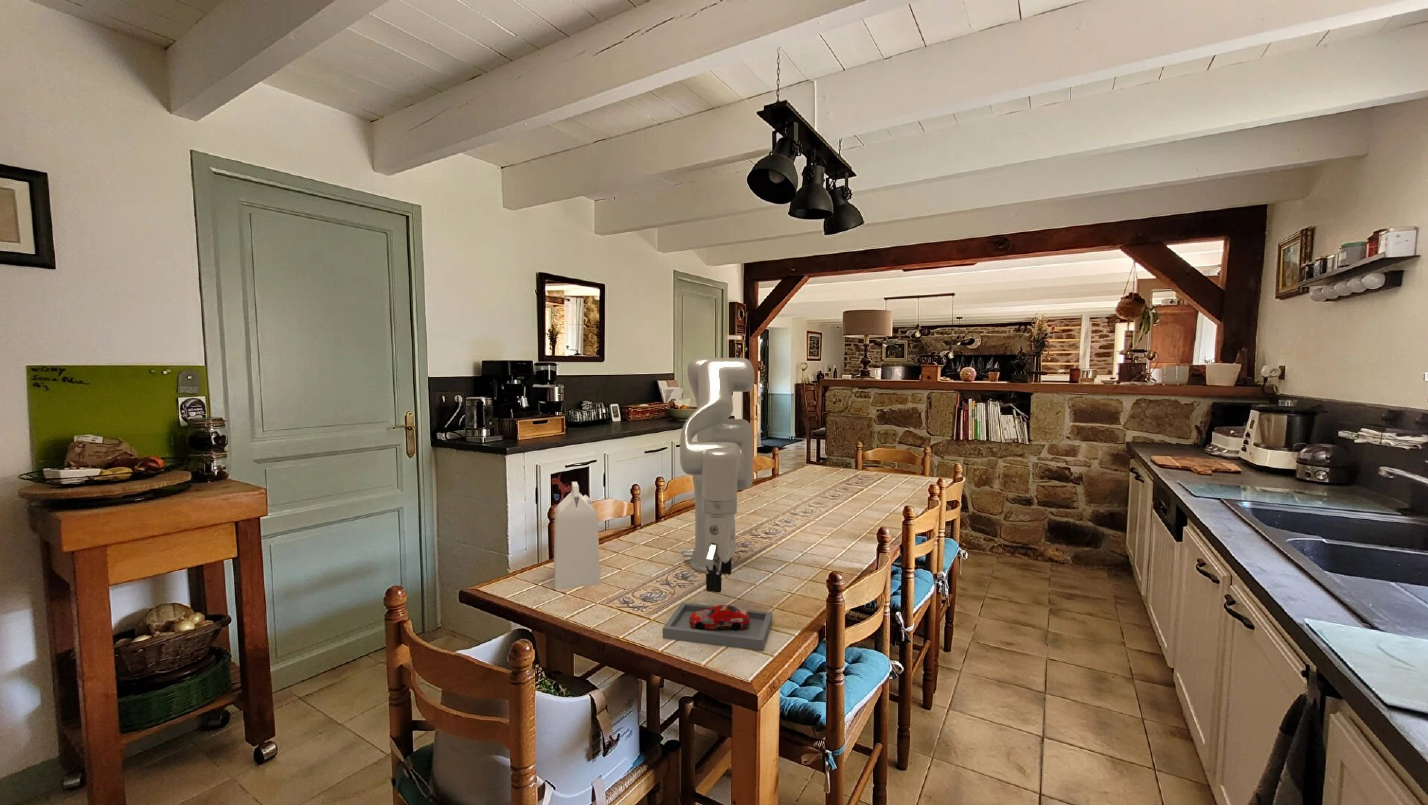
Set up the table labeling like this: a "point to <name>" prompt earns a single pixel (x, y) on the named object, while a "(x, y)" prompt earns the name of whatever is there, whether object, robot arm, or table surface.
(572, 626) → the table surface
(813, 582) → the table surface
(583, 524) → the milk
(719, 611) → the race car
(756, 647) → the tray
